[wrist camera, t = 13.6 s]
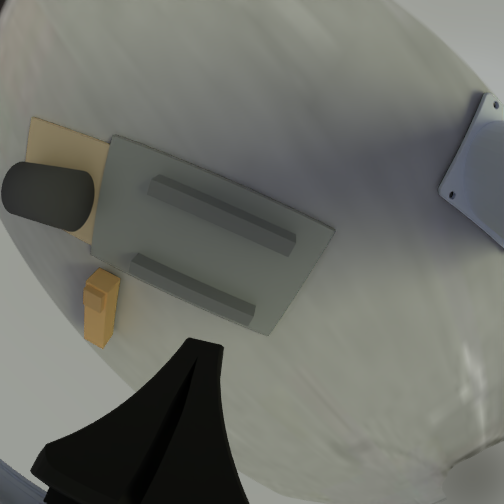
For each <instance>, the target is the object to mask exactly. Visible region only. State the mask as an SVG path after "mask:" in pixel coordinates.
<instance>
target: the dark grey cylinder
mask: <svg viewBox="0 0 504 504" xmlns="http://www.w3.org/2000/svg"><path fill="white" fill-rule="evenodd" d="M94 195H95V189H94V182H93V179H92V177H91V175H90V174H89V173H88V172H86V171H82V170H76V169H70V168H63V167H57V166H50V165H44V164H37V163H30V162H19V163H16V164H15V165H13V166H12V167H11V168H10V169H9V171H8V172H7V174H6V176H5V178H4V180H3V184H2V190H1V197H2V202H3V205H4V207H5V209H6V210H7V211H8V212H9V213H11V214H14V215H18V216H21V217H24V218H27V219H30V220H33V221H36V222H40V223H43V224H46V225H49V226H53V227H56V228H59V229H62V230H66V231H69V232H74V231H77V230H79V229H80V228H81V227H82V226H83V225H84V224H85V222H86V221H87V219H88V217H89V215H90V213H91V210H92V207H93V203H94Z"/></svg>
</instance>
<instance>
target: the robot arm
mask: <svg viewBox="0 0 504 504" xmlns="http://www.w3.org/2000/svg"><path fill="white" fill-rule="evenodd" d="M494 102H495V105H496V106H495V108H494V106H493V103H494ZM452 191H453V195H452V197H450V198H449V194H450V192H452ZM438 192H439V195H440V196H441V197H442V198H444V199H445V200H446V201H448V202H449V203H450V204H452V205H453V206H454V207H456V208H457V209H458V210H459V211H461V212H462V213H463V214H464V215H466V216H467V217H468V218H469V219H471V220H472V221H473V222H474V223H475V224H477V225H478V226H479V227H480V228H481V229H483V230H484V231H485V232H486V233H487V234H488V235H489V236H491V237H492V238H493V239H494V240H495V241H496V242H497V243H498V244H499V245H501V246H502V247H503V248H504V105H503V104H502V103H501V102H500V101H499V100H498V99H497V98H496V97H495V96H494V95H493V94H492V93H487V92H486V93H484V95H483V97H482V99H481V102H480V104H479V107H478V109H477V111H476V114H475V116H474V118H473V120H472V123H471V125H470V127H469V129H468V131H467V133H466V135H465V138H464V140H463V142H462V144H461V146H460V148H459V150H458V152H457V154H456V156H455V158H454V160H453V162H452V164H451V165H450V167H449V169H448V171H447V173H446V175H445V177H444V178H443V180H442V182H441V184H440V186H439V188H438ZM223 351H224V347H223V346H222V345H220V344H215V343H211V342H206V341H202V340H198V339H194V338H187V339H186V340H185V342H184V343H183V344H182V346H181V347H180V348H179V349H178V351H177V352H176V353H175V354H174V355H173V356H172V358H171V359H170V360H169V361H168V362H167V363H166V364H165V365H164V366H163V367H162V368H161V369H160V370H159V372H158V373H157V374H156V375H155V376H154V377H153V378H152V379H150V380H149V381H148V382H147V383H146V384H145V385H144V386H143V387H142V388H141V389H140V390H138V391H137V392H136V393H135V394H134V395H133V396H131V397H130V398H129V399H128V400H126V401H125V402H124V403H123V404H121V405H120V406H118V407H117V408H116V409H114V410H113V411H111V412H110V413H108V414H107V415H105V416H104V417H102V418H100V419H99V420H97V421H95V422H94V423H92V424H90V425H88V426H86V427H84V428H82V429H80V430H78V431H77V432H74V433H72V434H70V435H68V436H65V437H63V438H61V439H58V440H56V441H53V442H50V443H48V444H46V445H45V447H44V448H43V449H42V451H41V452H40V453H39V455H38V457H37V459H36V461H35V462H34V464H33V466H32V468H31V470H30V471H31V473H32V474H33V475H34V476H35V477H37V478H38V479H39V480H41V481H42V482H43V483H45V484H46V485H48V486H49V489H48V492H46V491H44V490H42V489H41V488H40V487H38V486H37V485H35V484H34V483H32V482H31V481H29V480H28V479H26V478H25V477H24V476H22V475H21V474H19V473H18V472H17V471H15V470H14V469H12V468H11V467H10V466H9V465H7V464H6V463H5V462H4V461H2V460H1V459H0V504H249V502H248V499H247V497H246V494H245V492H244V489H243V487H242V485H241V482H240V479H239V476H238V473H237V470H236V467H235V464H234V460H233V457H232V454H231V450H230V446H229V442H228V438H227V433H226V429H225V423H224V417H223V410H222V402H221V388H220V376H221V367H222V359H223Z"/></svg>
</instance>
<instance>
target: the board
mask: <svg viewBox="0 0 504 504" xmlns="http://www.w3.org/2000/svg"><path fill="white" fill-rule="evenodd" d="M25 162H30V163H37V164H44V165H50V166H57V167H63V168H70V169H76V170H82V171H86V172H88V173H89V174H90V175H91V177H92V179H93V182H94V189H95V195H94V203H93V207H92V210H91V213H90V215H89V217H88V219H87V221H86V222H85V224H84V225H83V226H82V227H81V228H80V229H79V230H77V231H74V232H69V231H66V230H64V231H66V232H67V233H69V234H71V235H73V236H75V237H76V238H78V239H80V240H82V241H84V242H86V243H88V244H90V245H91V255H92V256H94V257H96V258H98V259H100V260H101V261H103V262H105V263H107V264H109V265H111V266H113V267H115V268H117V269H119V270H121V271H123V272H125V273H127V274H129V275H131V276H133V277H135V278H137V279H139V280H141V281H143V282H145V283H147V284H149V285H151V286H153V287H155V288H157V289H159V290H162V291H164V292H166V293H168V294H170V295H172V296H174V297H177V298H179V299H181V300H183V301H185V302H187V303H190V304H192V305H194V306H196V307H199V308H201V309H203V310H205V311H208V312H210V313H212V314H215V315H217V316H219V317H222V318H224V319H226V320H229V321H231V322H234V323H236V324H238V325H241V326H243V327H246V328H248V329H251V330H253V331H256V332H258V333H261V334H263V335H266V336H269V335H270V333H271V332H272V330H273V329H274V327H275V326H276V324H277V323H278V321H279V320H280V318H281V317H282V315H283V314H284V312H285V311H286V309H287V308H288V306H289V305H290V303H291V302H292V300H293V299H294V297H295V296H296V294H297V293H298V291H299V289H300V288H301V286H302V285H303V283H304V282H305V280H306V279H307V277H308V275H309V274H310V272H311V271H312V269H313V267H314V266H315V264H316V263H317V261H318V259H319V258H320V256H321V254H322V253H323V251H324V250H325V248H326V246H327V245H328V243H329V241H330V240H331V238H332V236H333V235H334V233H335V229H334V228H332V227H330V226H328V225H326V224H324V223H321V222H319V221H317V220H315V219H313V218H311V217H309V216H307V215H305V214H303V213H301V212H299V211H297V210H295V209H293V208H290V207H288V206H286V205H284V204H282V203H280V202H278V201H275V200H273V199H271V198H269V197H267V196H265V195H262V194H260V193H258V192H256V191H254V190H251V189H249V188H247V187H245V186H242V185H240V184H238V183H236V182H233V181H231V180H229V179H226V178H224V177H222V176H219V175H217V174H215V173H212V172H210V171H208V170H205V169H203V168H200V167H198V166H196V165H193V164H191V163H188V162H186V161H183V160H181V159H179V158H176V157H174V156H171V155H169V154H166V153H164V152H161V151H158V150H156V149H153V148H151V147H148V146H145V145H143V144H140V143H138V142H135V141H132V140H130V139H127V138H124V137H121V136H119V135H113V136H112V139H111V143H110V144H109V143H106V142H103V141H101V140H98V139H95V138H93V137H90V136H87V135H84V134H82V133H79V132H76V131H73V130H71V129H68V128H65V127H62V126H59V125H56V124H53V123H50V122H48V121H45V120H42V119H39V118H36V117H32V118H31V124H30V130H29V137H28V144H27V152H26V161H25Z"/></svg>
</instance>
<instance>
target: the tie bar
mask: <svg viewBox="0 0 504 504" xmlns="http://www.w3.org/2000/svg"><path fill="white" fill-rule="evenodd" d="M119 284H120V278H119V277H117V276H115V275H113V274H111V273H109V272H107V271H105V270H103V269H101V268H98V269H97V270H96V271H95V272H94V273H93V274H92V275H91V276H90V277H89V278H88V279H87V280H86V287H85V288H84V292H83V304H84V305H85V314H84V339H86V340H88V341H90V342H91V343H93V344H95V345H97V346H98V347H100V348H102V349H103V348H104V347H105V345H106V344H107V342H108V341H109V339H110V338H111V336H112V335H113V327H114V319H115V311H116V304H117V297H118V291H119Z"/></svg>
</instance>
